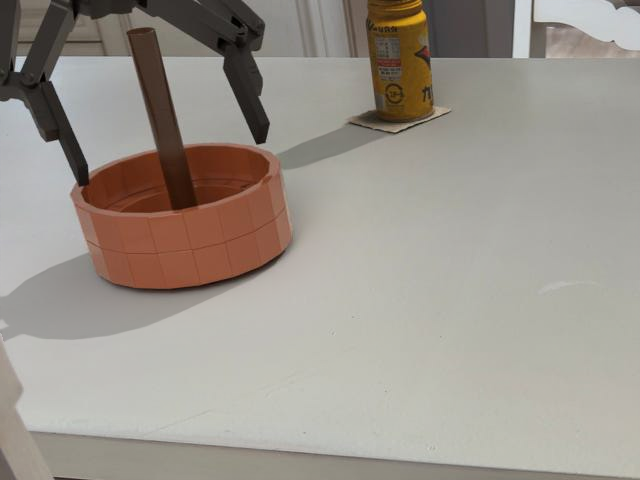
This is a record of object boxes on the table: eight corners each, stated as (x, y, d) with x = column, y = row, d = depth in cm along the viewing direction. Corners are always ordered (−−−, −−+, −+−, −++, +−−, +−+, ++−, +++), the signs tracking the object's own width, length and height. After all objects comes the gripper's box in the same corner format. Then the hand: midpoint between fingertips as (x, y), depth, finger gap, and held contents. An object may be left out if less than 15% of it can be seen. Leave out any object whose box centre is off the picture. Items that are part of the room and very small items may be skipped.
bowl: (58, 293, 76) (30, 215, 73) (148, 213, 88) (128, 142, 84) (252, 299, 74) (234, 218, 70) (319, 215, 85) (306, 142, 81)
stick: (152, 257, 79) (90, 40, 69) (178, 232, 83) (123, 22, 73) (212, 259, 78) (158, 39, 68) (236, 233, 82) (188, 20, 72)
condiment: (452, 111, 105) (442, -20, 97) (395, 134, 100) (379, -2, 93) (402, 101, 109) (388, -26, 101) (345, 123, 104) (326, -9, 97)
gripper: (218, -91, 83) (323, 144, 82) (-108, -44, 74) (7, 221, 73) (226, -168, 76) (340, 89, 75) (-133, -126, 67) (-6, 166, 66)
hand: (176, 155), depth 74 cm, fingers open, 13 cm apart
